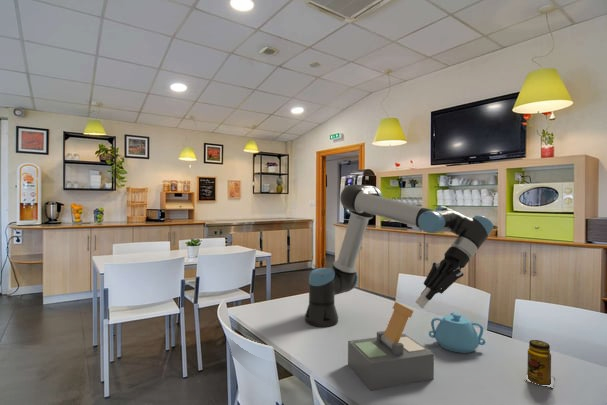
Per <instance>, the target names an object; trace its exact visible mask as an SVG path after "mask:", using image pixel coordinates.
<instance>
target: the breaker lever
mask: <svg viewBox="0 0 607 405" xmlns="http://www.w3.org/2000/svg"><path fill="white" fill-rule="evenodd" d="M392 309H393V311H392V315H391V317H390V319H389V322H388V325H387V326H386V330H384V331H385V334H384V335H382V336H381V341H382V342H383V343H385V344H386V345H387V346H388V347H390V348H391V349H392V344H394V343H398V342H399V340H400V337H401V335H402V334H403V332H404V330H405V327H406V325H407V322H408V321H409V318H410V319H411V318H412V315H413V314H414V309H413V310H412V309H410V308H409V307H407V306H406V305H404V304H401V303H400V302H397V301H394V304H393V306H392Z"/></svg>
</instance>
